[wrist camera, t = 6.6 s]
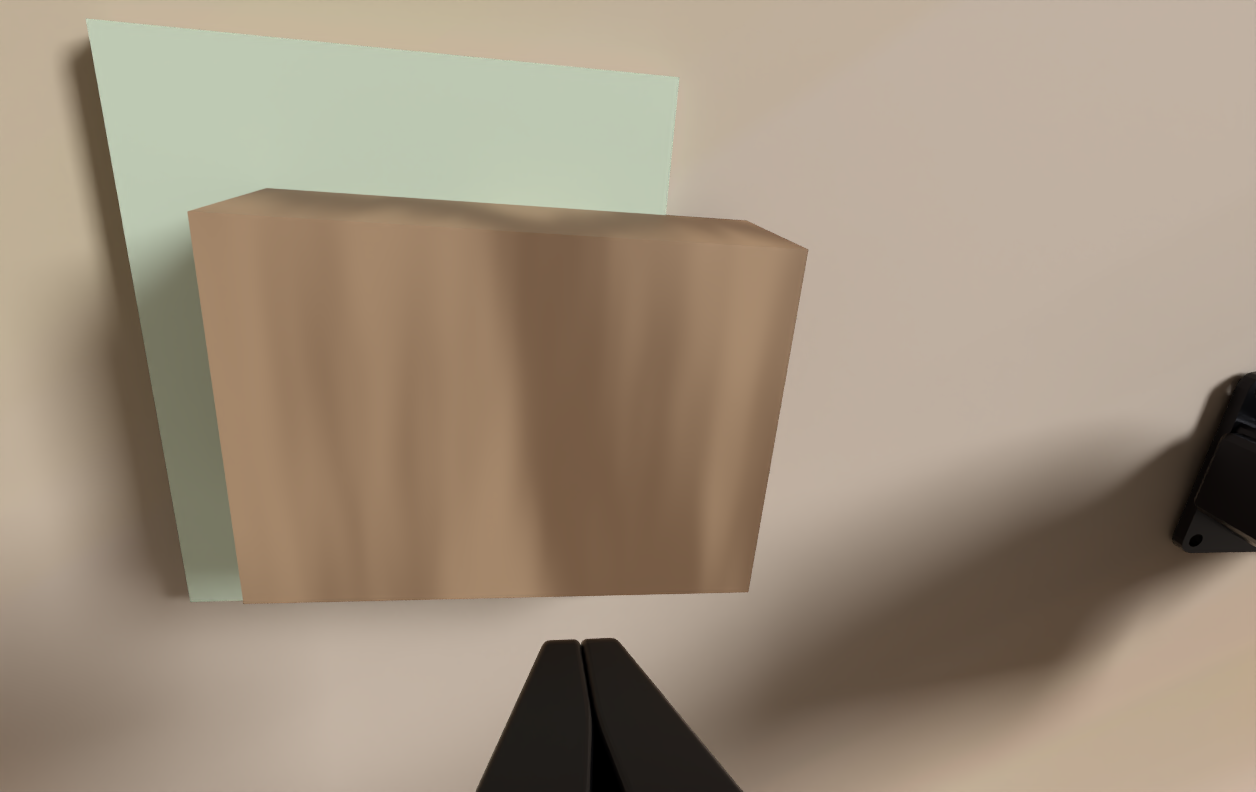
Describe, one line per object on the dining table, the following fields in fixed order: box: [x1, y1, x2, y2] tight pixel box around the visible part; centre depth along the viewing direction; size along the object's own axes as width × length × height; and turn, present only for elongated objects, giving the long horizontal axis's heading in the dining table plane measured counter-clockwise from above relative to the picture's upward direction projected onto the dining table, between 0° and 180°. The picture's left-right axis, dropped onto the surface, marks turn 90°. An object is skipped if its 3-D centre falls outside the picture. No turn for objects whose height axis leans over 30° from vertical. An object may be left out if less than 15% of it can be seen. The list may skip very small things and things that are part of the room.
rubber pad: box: [86, 19, 679, 602], centre depth 18 cm, size 12×14×1 cm
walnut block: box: [187, 188, 808, 604], centre depth 16 cm, size 4×8×11 cm
